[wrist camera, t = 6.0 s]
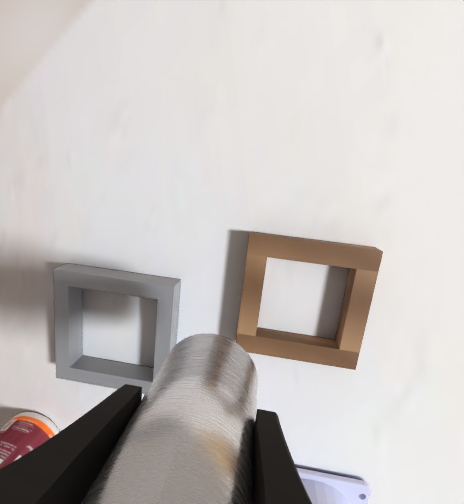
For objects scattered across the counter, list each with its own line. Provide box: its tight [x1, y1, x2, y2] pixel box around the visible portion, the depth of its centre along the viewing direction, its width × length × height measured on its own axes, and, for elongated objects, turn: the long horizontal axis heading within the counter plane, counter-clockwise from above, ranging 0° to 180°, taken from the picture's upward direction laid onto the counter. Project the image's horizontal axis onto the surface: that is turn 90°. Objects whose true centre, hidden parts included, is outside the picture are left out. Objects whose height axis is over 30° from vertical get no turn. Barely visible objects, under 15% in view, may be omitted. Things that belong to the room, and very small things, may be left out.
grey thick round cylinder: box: [81, 334, 257, 504], centre depth 9 cm, size 4×4×8 cm
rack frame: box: [53, 263, 181, 394], centre depth 20 cm, size 8×8×2 cm
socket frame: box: [236, 232, 383, 370], centre depth 18 cm, size 8×8×1 cm
